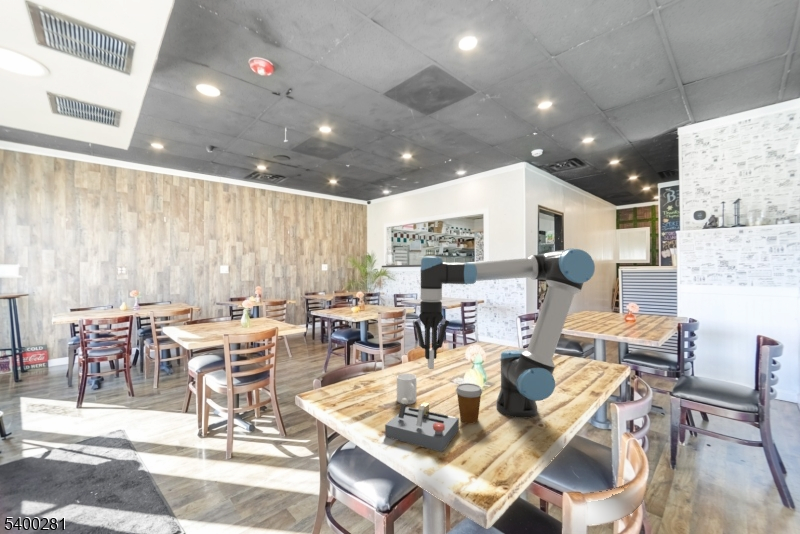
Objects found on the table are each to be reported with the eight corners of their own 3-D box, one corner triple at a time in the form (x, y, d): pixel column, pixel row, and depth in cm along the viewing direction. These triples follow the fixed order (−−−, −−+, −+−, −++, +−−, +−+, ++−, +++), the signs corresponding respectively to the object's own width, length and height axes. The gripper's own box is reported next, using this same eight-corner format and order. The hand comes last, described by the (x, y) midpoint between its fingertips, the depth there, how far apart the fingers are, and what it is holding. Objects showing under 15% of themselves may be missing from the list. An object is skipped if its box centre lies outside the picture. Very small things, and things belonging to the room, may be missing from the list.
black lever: (404, 419, 114) (409, 399, 117) (402, 418, 112) (406, 398, 115) (399, 417, 115) (403, 398, 118) (396, 416, 113) (401, 396, 116)
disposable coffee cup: (477, 428, 116) (477, 393, 116) (451, 421, 121) (451, 388, 121) (485, 418, 124) (485, 385, 124) (461, 412, 129) (461, 381, 129)
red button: (446, 432, 105) (446, 424, 105) (442, 437, 102) (442, 429, 102) (435, 430, 106) (435, 421, 106) (431, 434, 103) (431, 426, 103)
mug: (423, 406, 135) (423, 381, 135) (404, 409, 132) (404, 383, 132) (411, 396, 146) (411, 372, 146) (394, 398, 143) (393, 374, 143)
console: (458, 429, 115) (458, 416, 115) (442, 452, 101) (442, 436, 101) (407, 417, 124) (407, 405, 124) (385, 436, 110) (385, 422, 110)
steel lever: (423, 427, 108) (426, 405, 110) (420, 426, 106) (424, 405, 109) (417, 425, 109) (420, 404, 111) (414, 425, 107) (418, 403, 110)
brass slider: (429, 413, 118) (429, 403, 118) (425, 416, 115) (425, 406, 115) (424, 412, 119) (423, 402, 119) (420, 415, 116) (420, 405, 116)
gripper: (445, 299, 122) (444, 364, 122) (410, 299, 119) (410, 365, 119) (452, 301, 115) (452, 370, 114) (415, 301, 112) (415, 372, 112)
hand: (430, 367), depth 117 cm, fingers closed
